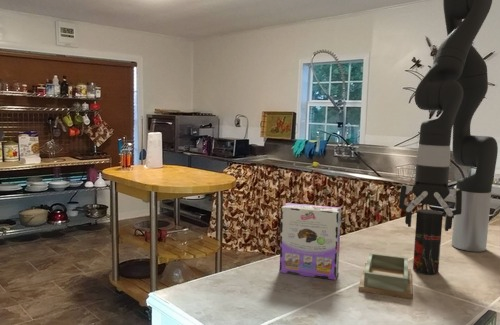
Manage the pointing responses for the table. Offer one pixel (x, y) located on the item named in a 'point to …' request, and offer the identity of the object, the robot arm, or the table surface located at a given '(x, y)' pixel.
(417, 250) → the deodorant
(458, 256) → the table surface
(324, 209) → the candy box
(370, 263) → the holder
